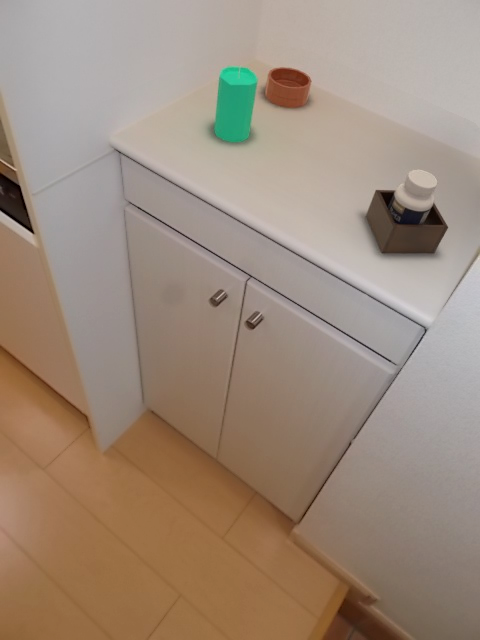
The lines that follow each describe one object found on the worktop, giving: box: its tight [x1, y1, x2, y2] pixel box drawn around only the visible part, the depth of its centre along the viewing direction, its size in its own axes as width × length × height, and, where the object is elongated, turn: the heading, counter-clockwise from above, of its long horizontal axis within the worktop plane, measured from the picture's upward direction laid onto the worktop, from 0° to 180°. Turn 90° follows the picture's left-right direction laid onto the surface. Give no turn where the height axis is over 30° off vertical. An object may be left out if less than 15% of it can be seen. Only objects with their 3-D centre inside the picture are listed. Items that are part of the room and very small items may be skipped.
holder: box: [365, 189, 449, 254], centre depth 75 cm, size 8×8×6 cm
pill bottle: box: [388, 169, 438, 225], centre depth 73 cm, size 5×5×10 cm
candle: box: [213, 66, 259, 143], centre depth 84 cm, size 6×6×12 cm
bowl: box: [264, 66, 312, 109], centre depth 98 cm, size 8×8×4 cm
